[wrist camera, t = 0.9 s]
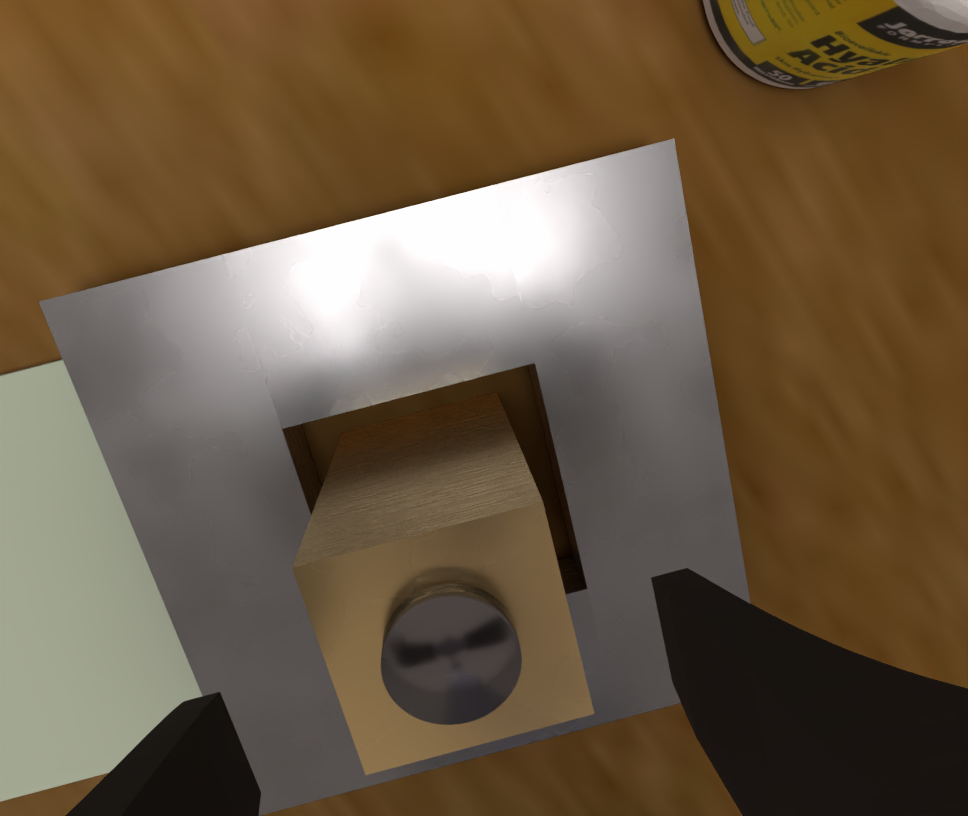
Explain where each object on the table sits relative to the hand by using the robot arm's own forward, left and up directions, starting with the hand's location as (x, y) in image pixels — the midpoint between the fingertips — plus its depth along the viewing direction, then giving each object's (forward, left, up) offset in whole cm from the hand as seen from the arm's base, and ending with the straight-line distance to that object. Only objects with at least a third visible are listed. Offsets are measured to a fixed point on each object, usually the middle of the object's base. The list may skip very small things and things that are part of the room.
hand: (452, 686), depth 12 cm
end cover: (0, 0, -9) cm, 9 cm away
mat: (0, +13, -9) cm, 16 cm away
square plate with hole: (0, 0, -9) cm, 9 cm away
